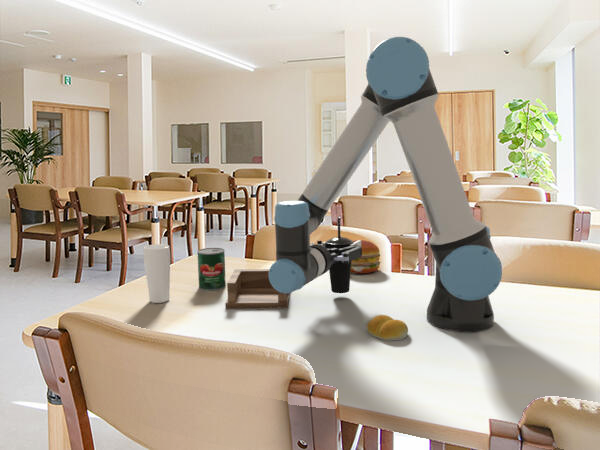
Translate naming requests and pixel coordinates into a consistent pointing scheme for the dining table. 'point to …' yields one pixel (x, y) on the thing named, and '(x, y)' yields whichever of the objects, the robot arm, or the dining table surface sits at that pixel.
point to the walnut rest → (253, 291)
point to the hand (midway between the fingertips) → (346, 244)
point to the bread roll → (387, 328)
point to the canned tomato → (211, 269)
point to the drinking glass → (157, 272)
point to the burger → (366, 258)
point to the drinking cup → (339, 265)
